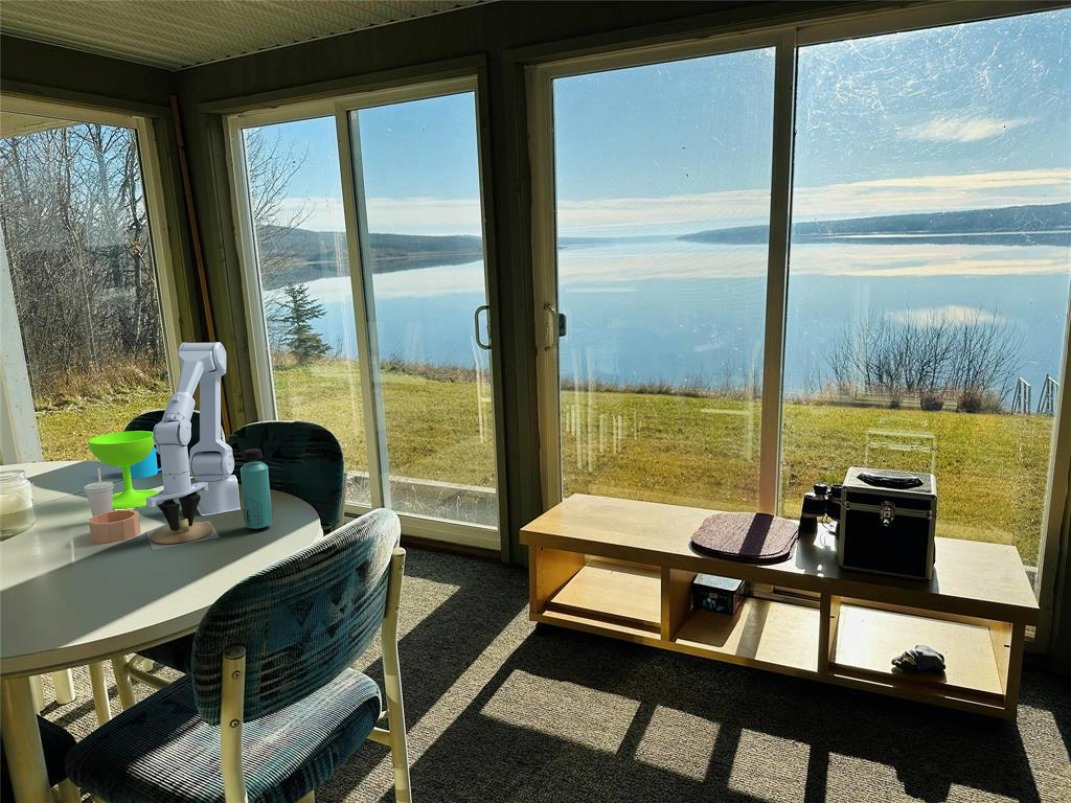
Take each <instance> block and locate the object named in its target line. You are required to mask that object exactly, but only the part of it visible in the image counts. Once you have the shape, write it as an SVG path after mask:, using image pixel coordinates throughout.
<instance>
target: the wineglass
mask: <svg viewBox="0 0 1071 803" xmlns="http://www.w3.org/2000/svg"><path fill="white" fill-rule="evenodd" d="M87 445H88V448H89V450H90V452H91V453H92V454H93V456H94V457H95V458H96V459H97V460H99V461H100V462H101V463H103V464H106V465H107V466H112V467H118V468H121V472H122V480H123V487H124V488H123V491H121V492H120V491H119V492H116V493H115V492H114V493H113V495H112V509H127V508H134V509H136V508H135V507H139V508H143V507H147V506H146V505H147V504H146V498H148V497H151V496H153V495H156V494H158V493H160V492H159V491H157V490H153V489H152V490H151V489H134V488H133V484H132V478H131V472H130V466H132V465H134V464H136V463H139V462H141V461H142V460H143V459H145V458H146V457H147V456H148V455H149V454H150V452H151V451H152V450H153V447H155V443H154V441H153V431H149V430H148V431H146V430H134V431H131V430H130V431H119V432H112V433H107V434H101V435H97V436H94V437H91V438H90V439H88V440H87ZM142 506H143V507H142ZM127 510H128V509H127Z"/></svg>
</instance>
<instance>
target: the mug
mask: <svg viewBox="0 0 1071 803" xmlns="http://www.w3.org/2000/svg"><path fill="white" fill-rule="evenodd" d="M157 453H158V452H157V447H156V446H154V447H153V450H152V451H151V452H150V454H149V455H148V456H147V457H146V458H145V459H143V460H142V461H141V462H139V463H136V464H134V465H132V466H130V472H131V479H142V478H143V479H144V478H151V477H154V476H156V475H158V474H159V472H160V471H161V472H162V467H161V466H160V467H159V468H158V462H157V461H158V460H157V459H158V458H157ZM157 473H158V474H157Z"/></svg>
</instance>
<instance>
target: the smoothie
mask: <svg viewBox="0 0 1071 803" xmlns="http://www.w3.org/2000/svg"><path fill="white" fill-rule="evenodd" d="M96 470H97V476H98V482H93V483H89V484H86V485H85V486H84V487H83V490H84V491H83V492H84V493H85V494H86V498H87V501H88V504H89V508H90V512H91V516H92V517H94V516H95V515H99V514H102V513H105V512H110V511H112V495H113V494H114V490H113V489H114V488H115V485H114V482H112V481H102V474H101V473H102V472H101V468H100V467H98V468H97V469H96Z"/></svg>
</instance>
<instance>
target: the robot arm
mask: <svg viewBox="0 0 1071 803" xmlns="http://www.w3.org/2000/svg"><path fill="white" fill-rule="evenodd" d="M177 358H178V363H179V366H180V373H179V378H178V384H177V387H176V391H175V393H173V394H171V395H170V396H169V397H168V400H167V404H166V407H165V410H164V413H163V416H162V419H161V421H159V422H158V423H157V424H155V425H154V427H153V430H152V432H153V441H154V443H155V444H154V446H155V448H156V450H157V452H156V453H157V454H158V455H159V457H160V465H161V466H160V468H161V467H162V470H161V475H162V484H163V491H160V492H159V493H158V494H156V495H153V496H151V497H148V498H146V504H147V506H146V507H149V508H154V507H156V506H157V508H158V509H159V510H160V511H161V512H162V514H163V516H164V517H165V519H166V521H167V524H168V526H170V529H171V530H173V531H178V530H179V520H178V518H179V513H180V511H179V510H180V507H181V511H182V512H181V513H182V517H187V518H188V524H189V526H192V525H193V522H194V518H195V514H196V510H197V512H199V514H200V516H201V517H205V516H211V515H216V514H222V513H228V512H233V511H239V510H241V501H240V491H239V490H240V489H239V483H238V482H239V481H238V478H237V475H235V474H232V473H233V471H234V470H235V459H234V455H233V448H232V447H231V445H229V444H228V443H226V442H225V441H223V440H222V437H221V436H222V435H221V434H222V431H221V430H222V429H221V428H222V426H221V425H222V424H221V422H222V421H221V420H222V417H221V416H222V413H221V411H222V410H221V409H222V407H221V406H222V404H221V398H222V397H221V396H222V395H221V394H222V393H221V392H222V391H221V387H222V386H221V384H222V383H221V380H222V379H221V378H222V377H223V376H224V375H226V374H227V351H226V349H225V347H224V345H223V344H222V342H221V341H220V342H219V341H218V342H217V341H215V342H182V343H180V345H179V347H178V349H177ZM198 384H199V441H198V442H197V443H196V444H194V445H193V446H191V448H190V450H189V452H188V449H189V448H188V444H189V443H190V441H191V438H192V422H191V420H192V417H193V413H194V409H195V406H196V401H195V399H194V398H193V396H194V393H195V391H196V389H197V386H198ZM191 476H192V477H193V478H194V481H197V482H195V483H192V481H191ZM177 499H178V500H179V503H177V502H176V501H175V500H177ZM198 505H199V506H198Z"/></svg>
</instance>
